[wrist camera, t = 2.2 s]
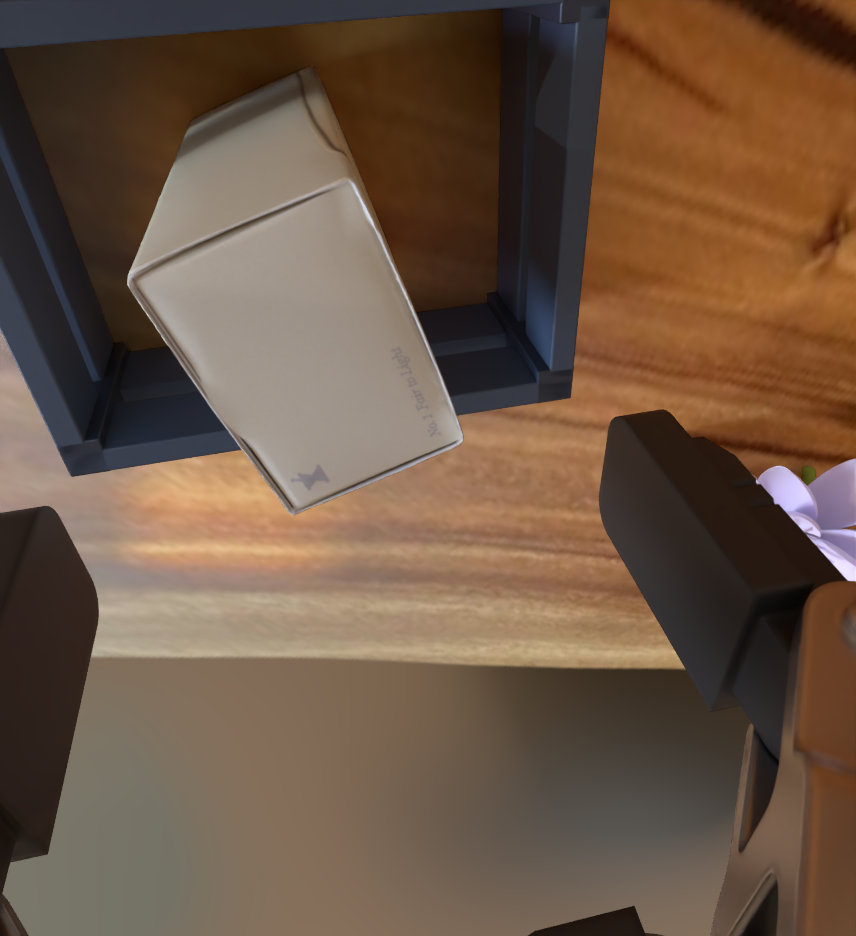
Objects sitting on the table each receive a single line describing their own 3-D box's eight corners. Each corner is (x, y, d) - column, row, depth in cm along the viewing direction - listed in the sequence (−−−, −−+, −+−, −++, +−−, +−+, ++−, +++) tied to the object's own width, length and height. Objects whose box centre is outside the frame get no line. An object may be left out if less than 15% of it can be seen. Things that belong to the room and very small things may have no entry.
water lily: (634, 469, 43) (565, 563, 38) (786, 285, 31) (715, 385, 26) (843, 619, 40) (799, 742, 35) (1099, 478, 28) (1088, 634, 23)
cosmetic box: (389, 245, 24) (479, 449, 15) (274, 296, 25) (293, 527, 15) (310, 52, 20) (364, 168, 11) (173, 116, 21) (115, 280, 11)
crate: (102, 375, 25) (70, 477, 20) (-53, -13, 18) (-156, 11, 13) (515, 317, 27) (571, 398, 23) (529, -53, 20) (615, -44, 15)
